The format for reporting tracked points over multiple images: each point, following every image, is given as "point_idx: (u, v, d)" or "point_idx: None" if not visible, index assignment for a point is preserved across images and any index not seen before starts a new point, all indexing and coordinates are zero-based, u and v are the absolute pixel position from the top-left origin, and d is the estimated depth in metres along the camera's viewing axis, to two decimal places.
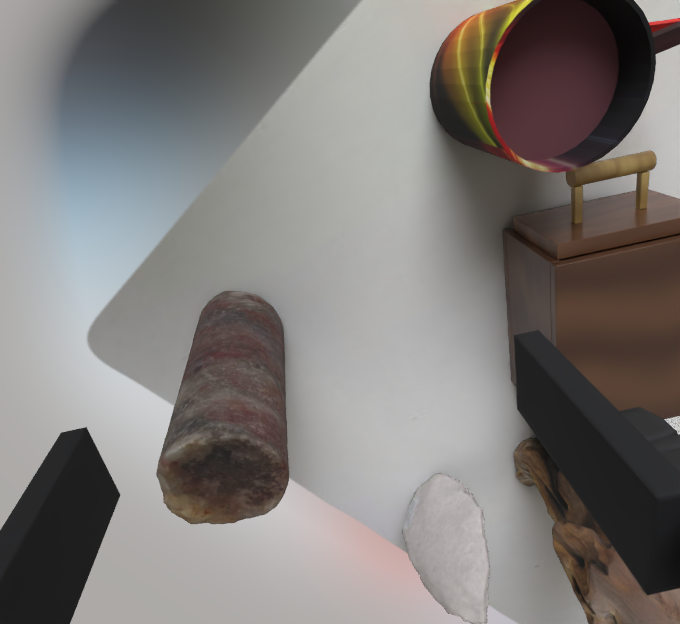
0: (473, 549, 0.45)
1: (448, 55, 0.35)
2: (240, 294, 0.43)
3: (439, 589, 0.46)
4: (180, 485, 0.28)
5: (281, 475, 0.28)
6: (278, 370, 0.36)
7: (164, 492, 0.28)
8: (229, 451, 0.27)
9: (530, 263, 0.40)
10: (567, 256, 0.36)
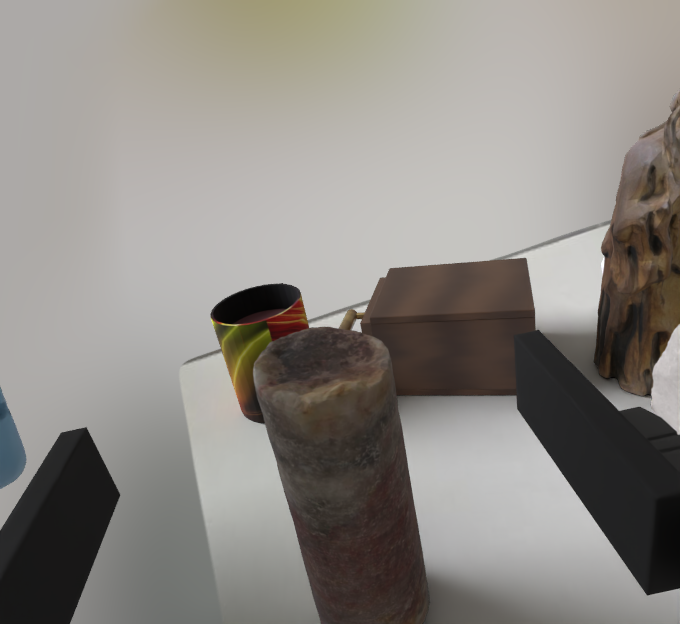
0: (678, 345, 0.37)
1: (240, 394, 0.55)
2: None
3: None
4: (297, 384, 0.25)
5: (343, 331, 0.29)
6: None
7: (301, 404, 0.24)
8: (288, 349, 0.28)
9: None
10: None
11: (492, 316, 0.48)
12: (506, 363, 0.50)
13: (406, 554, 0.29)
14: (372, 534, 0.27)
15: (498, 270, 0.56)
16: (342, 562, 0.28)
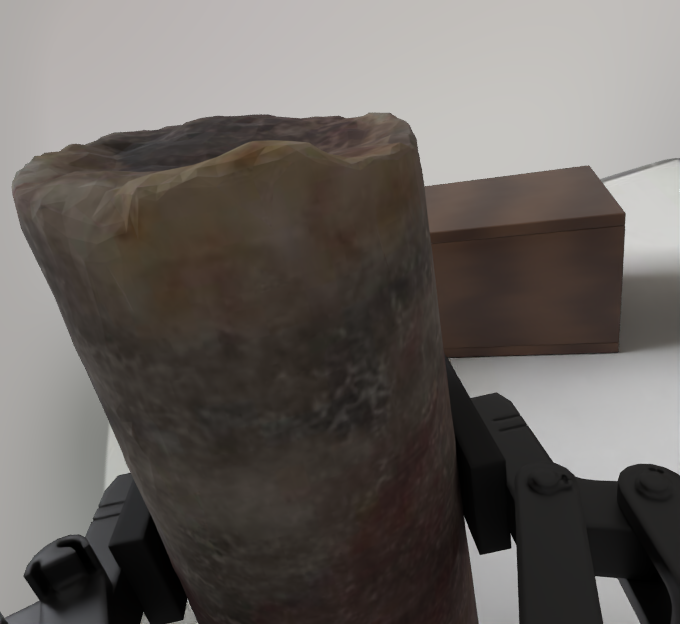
0: None
1: None
2: None
3: None
4: (125, 171, 0.08)
5: (295, 118, 0.12)
6: None
7: (116, 208, 0.07)
8: (150, 142, 0.11)
9: None
10: None
11: (556, 227, 0.31)
12: (574, 303, 0.33)
13: None
14: None
15: (552, 179, 0.39)
16: None
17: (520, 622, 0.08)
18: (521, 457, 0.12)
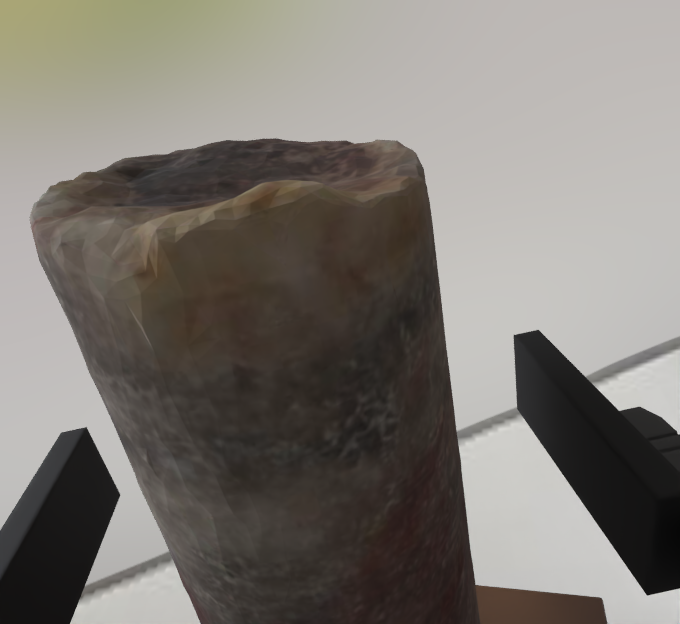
0: None
1: None
2: None
3: None
4: (142, 207, 0.08)
5: (303, 143, 0.12)
6: None
7: (135, 247, 0.07)
8: (162, 168, 0.11)
9: None
10: None
11: None
12: None
13: None
14: None
15: None
16: None
17: None
18: None
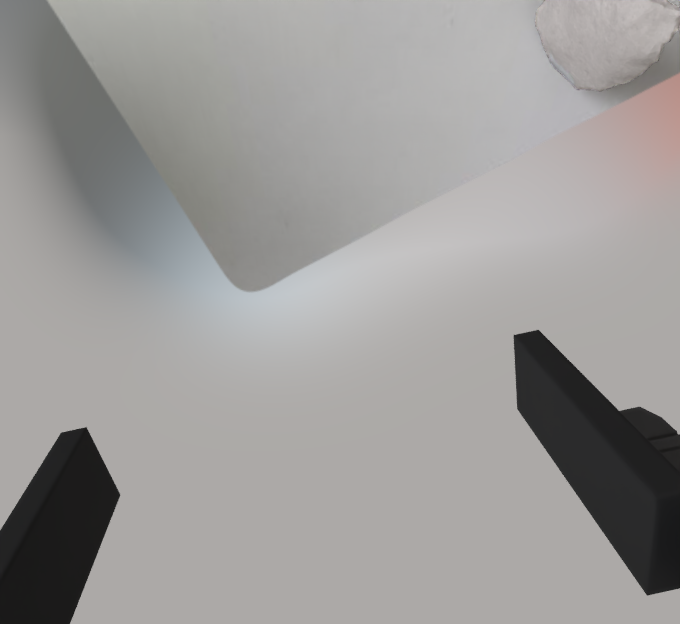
0: None
1: None
2: None
3: (628, 61, 0.37)
4: None
5: None
6: None
7: None
8: None
9: None
10: None
11: None
12: None
13: None
14: None
15: None
16: None
17: None
18: None
